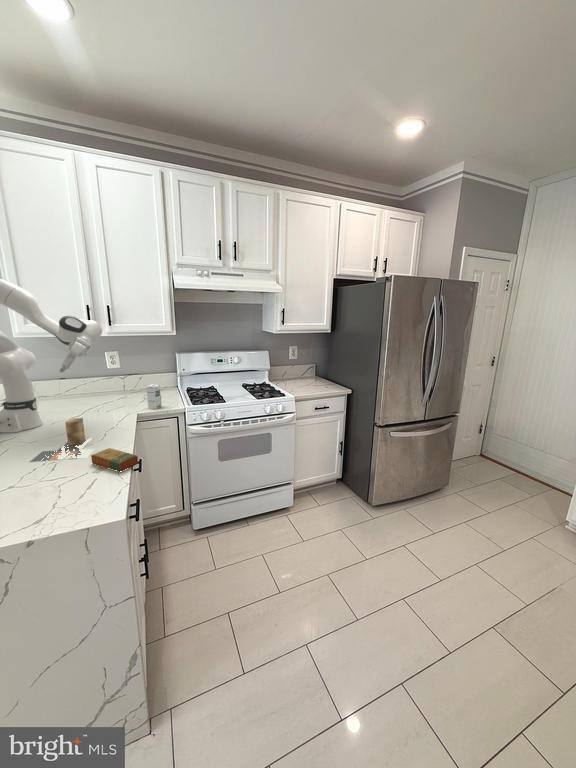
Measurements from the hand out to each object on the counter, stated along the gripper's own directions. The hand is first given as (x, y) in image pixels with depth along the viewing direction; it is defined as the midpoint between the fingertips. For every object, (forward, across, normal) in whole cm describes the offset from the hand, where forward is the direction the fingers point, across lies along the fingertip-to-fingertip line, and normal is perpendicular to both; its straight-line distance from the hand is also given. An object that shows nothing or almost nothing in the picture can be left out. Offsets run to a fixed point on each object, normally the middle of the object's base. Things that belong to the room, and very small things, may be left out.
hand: (62, 368), depth 150 cm
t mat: (+33, +6, +21) cm, 40 cm away
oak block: (+29, +3, +22) cm, 37 cm away
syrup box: (-14, -23, +52) cm, 58 cm away
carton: (+38, +32, +35) cm, 61 cm away
